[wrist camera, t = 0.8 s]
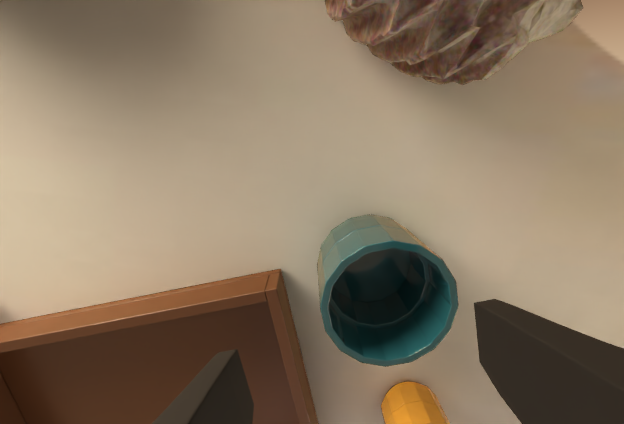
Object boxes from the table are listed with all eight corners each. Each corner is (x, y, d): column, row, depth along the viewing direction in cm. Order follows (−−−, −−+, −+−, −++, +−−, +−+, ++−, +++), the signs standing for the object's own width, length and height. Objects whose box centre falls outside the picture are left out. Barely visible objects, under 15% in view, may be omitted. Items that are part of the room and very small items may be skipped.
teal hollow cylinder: (421, 296, 18) (463, 352, 13) (327, 314, 18) (335, 376, 13) (409, 204, 17) (450, 229, 12) (308, 224, 17) (309, 256, 12)
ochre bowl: (437, 418, 20) (461, 469, 17) (384, 428, 20) (398, 480, 17) (431, 373, 19) (455, 418, 16) (376, 383, 19) (389, 430, 16)
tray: (280, 268, 18) (276, 288, 15) (324, 449, 20) (327, 491, 18) (-20, 327, 18) (-71, 356, 16) (64, 496, 21) (32, 542, 19)
